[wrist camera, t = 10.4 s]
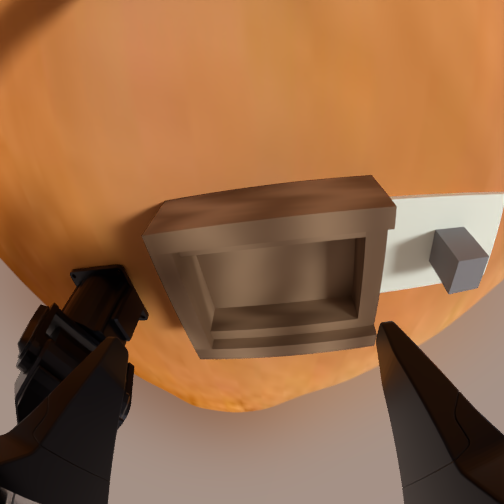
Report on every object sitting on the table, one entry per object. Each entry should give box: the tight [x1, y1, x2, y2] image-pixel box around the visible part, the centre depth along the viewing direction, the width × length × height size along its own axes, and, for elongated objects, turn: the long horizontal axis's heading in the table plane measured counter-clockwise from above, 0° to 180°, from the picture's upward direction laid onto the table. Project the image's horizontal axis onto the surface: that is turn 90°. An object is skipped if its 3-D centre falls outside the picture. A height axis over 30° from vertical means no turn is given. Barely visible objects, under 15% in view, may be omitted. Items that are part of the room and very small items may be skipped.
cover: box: [380, 192, 504, 294], centre depth 18 cm, size 12×9×5 cm
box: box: [142, 175, 397, 359], centre depth 20 cm, size 14×12×4 cm
